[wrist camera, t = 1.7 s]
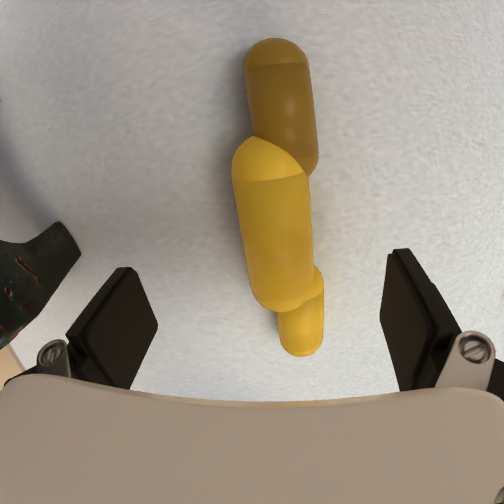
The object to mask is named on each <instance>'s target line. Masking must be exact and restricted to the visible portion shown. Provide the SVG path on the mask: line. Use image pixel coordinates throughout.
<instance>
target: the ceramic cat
mask: <svg viewBox="0 0 504 504" xmlns="http://www.w3.org/2000/svg"><path fill="white" fill-rule="evenodd" d="M80 256H81V252H80V250H79V249H78V247H77V245H76V243H75V242H74V240H73V238H72V237H71V235H70V234H69V232H68V231H67V229H66V228H65V227H64V226H63V225H62V224H61V223H60V222H56V223H54V224H53V225H52V226H51V227H49V228H48V229H47V230H45V231H44V232H42V233H41V234H40V235H38V236H37V237H35V238H33V239H32V240H30V241H28V242H26V243H10V242H5V241H2V240H0V350H1V349H2V348H3V347H5V346H6V345H7V344H9V343H10V342H11V341H12V340H13V339H14V338H15V337H16V336H17V335H18V333H19V332H20V331H21V330H22V329H24V328H25V327H26V326H27V325H28V324H29V323H30V322H31V321H33V320H34V319H35V318H36V317H37V316H38V315H39V314H40V312H41V311H42V309H43V308H44V307H45V305H46V304H47V302H48V301H49V299H50V298H51V296H52V295H53V293H54V292H55V291H56V289H57V288H58V287H59V285H60V283H61V282H62V280H63V279H64V278H65V276H66V275H67V273H68V272H69V271H70V269H71V268H72V267H73V265H74V264H75V263H76V261H77V260H78V259H79V257H80Z"/></svg>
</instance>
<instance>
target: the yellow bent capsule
mask: <svg viewBox="0 0 504 504" xmlns="http://www.w3.org/2000/svg"><path fill="white" fill-rule="evenodd" d="M243 73H244V79H245V86H246V92H247V99H248V105H249V112H250V119H251V125H252V132H253V136H251V137H249V138H248V139H247V140H245V141H244V142H243V143H242V144H241V145H240V146H239V147H238V149H237V150H236V152H235V154H234V156H233V159H232V164H231V177H232V182H233V188H234V194H235V200H236V206H237V212H238V217H239V223H240V229H241V235H242V240H243V246H244V252H245V257H246V263H247V269H248V274H249V280H250V286H251V289H252V293H253V295H254V296H255V298H256V300H257V301H258V302H259V303H260V304H261V305H262V306H264V307H265V308H267V309H269V310H271V311H275V312H277V320H278V329H279V338H280V342H281V345H282V347H283V348H284V349H285V350H286V351H287V352H288V353H289V354H291V355H293V356H298V357H304V356H308V355H311V354H313V353H314V352H315V351H316V350H317V349H318V348H319V347H320V345H321V343H322V340H323V325H324V281H323V277H322V274H321V272H320V271H319V269H318V268H317V267H316V266H315V265H313V244H312V224H311V208H310V193H309V180H308V177H309V176H310V175H311V174H312V172H313V171H314V169H315V167H316V165H317V162H318V154H319V152H318V141H317V130H316V120H315V111H314V103H313V94H312V86H311V79H310V72H309V64H308V61H307V58H306V56H305V54H304V52H303V51H302V50H301V49H300V48H299V47H298V46H297V45H296V44H294V43H292V42H290V41H288V40H285V39H281V38H269V39H265V40H262V41H260V42H258V43H256V44H255V45H253V46H252V47H251V48H250V49H249V51H248V52H247V54H246V56H245V58H244V62H243Z"/></svg>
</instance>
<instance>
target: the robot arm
mask: <svg viewBox="0 0 504 504" xmlns="http://www.w3.org/2000/svg"><path fill="white" fill-rule="evenodd" d="M380 323H381V326H382V329H383V332H384V335H385V339H386V342H387V345H388V349H389V352H390V356H391V359H392V363H393V366H394V370H395V374H396V378H397V382H398V385H399V389H400V392H395V393H388V394H380V395H372V396H363V397H353V398H342V399H330V400H314V401H288V402H251V401H224V400H208V399H196V398H185V397H176V396H167V395H160V394H152V393H145V392H139V391H133V390H129V389H130V387H131V385H132V383H133V381H134V378H135V376H136V374H137V372H138V370H139V367H140V365H141V363H142V361H143V359H144V357H145V355H146V352H147V350H148V348H149V346H150V344H151V342H152V340H153V338H154V336H155V334H156V332H157V329H158V323H157V320H156V318H155V315H154V313H153V311H152V308H151V306H150V303H149V301H148V299H147V296H146V294H145V291H144V289H143V286H142V284H141V281H140V278H139V276H138V273H137V272H136V271H135V270H133V268H132V267H119V268H117V269H116V270H115V271H114V272H113V273H112V275H111V276H110V277H109V278H108V280H107V281H106V282H105V283H104V284H103V286H102V287H101V288H100V289H99V291H98V292H97V293H96V294H95V296H94V297H93V298H92V300H91V301H90V302H89V303H88V305H87V306H86V307H85V309H84V310H83V311H82V313H81V314H80V315H79V316H78V318H77V319H76V321H75V322H74V323H73V325H72V326H71V327H70V329H69V330H68V331H67V333H66V334H65V335H66V337H67V338H68V340H69V343H68V345H67V344H66V342H65V341H64V340H60V339H58V340H53V341H50V342H49V343H47V344H46V345H45V346H43V347H42V349H41V350H40V351H39V353H38V355H37V365H36V366H34V367H32V368H30V369H28V370H26V371H24V372H22V373H21V374H18V375H17V376H15V377H13V378H10V379H8V380H7V381H6V382H5V384H4V387H3V389H2V390H1V391H0V504H504V362H502V361H500V360H498V359H496V358H495V353H496V350H495V347H494V344H493V343H492V341H491V340H490V339H489V338H488V337H487V336H486V335H484V334H482V333H480V332H477V331H465V332H462V331H461V329H460V327H459V326H458V324H457V322H456V320H455V318H454V317H453V315H452V313H451V311H450V309H449V308H448V306H447V304H446V303H445V301H444V299H443V297H442V296H441V294H440V292H439V291H438V289H437V288H436V286H435V285H434V284H433V283H431V281H430V279H429V278H428V276H427V275H426V273H425V271H424V270H423V268H422V267H421V265H420V264H419V262H418V261H417V259H416V258H415V256H414V255H413V253H412V252H411V250H410V249H409V248H404V249H394V250H393V252H392V254H388V257H387V265H386V274H385V281H384V289H383V296H382V302H381V308H380Z"/></svg>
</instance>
